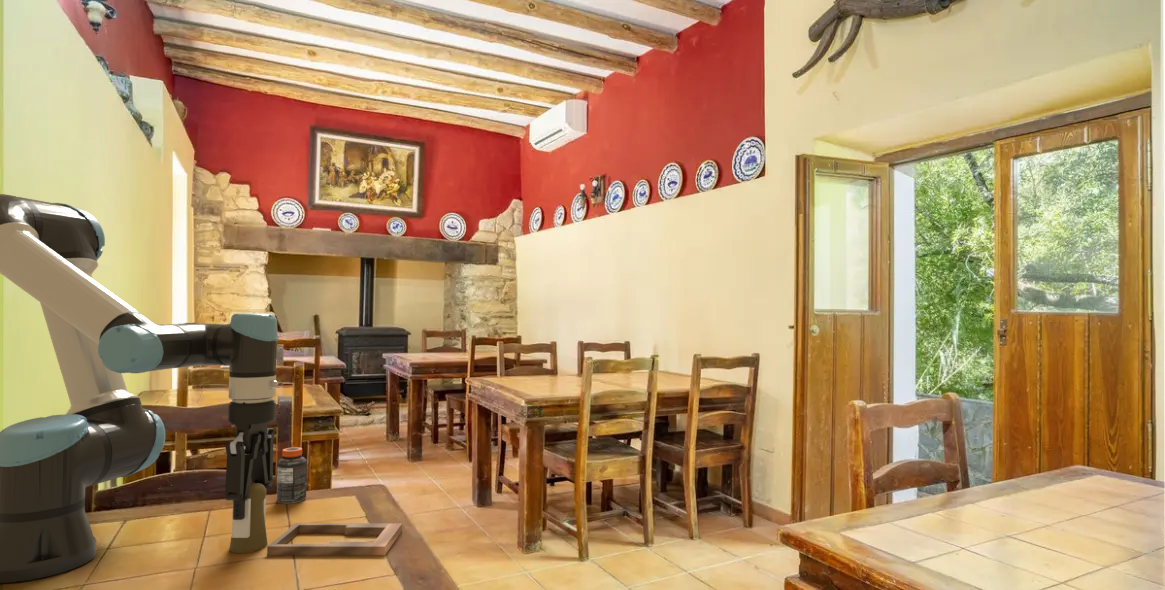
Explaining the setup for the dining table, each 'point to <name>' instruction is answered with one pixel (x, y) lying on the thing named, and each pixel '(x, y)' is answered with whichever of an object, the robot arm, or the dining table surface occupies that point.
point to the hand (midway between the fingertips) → (249, 530)
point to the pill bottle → (291, 476)
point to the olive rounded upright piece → (253, 523)
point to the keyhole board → (378, 547)
